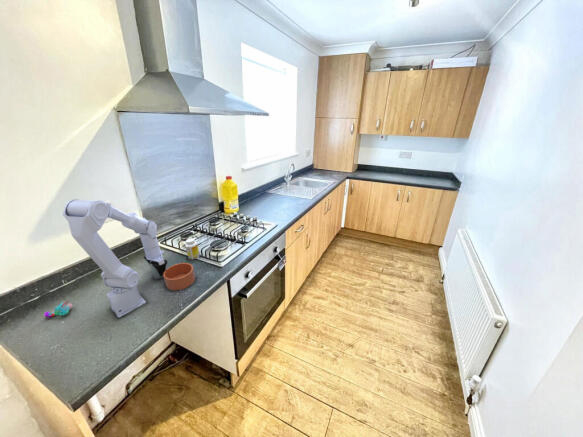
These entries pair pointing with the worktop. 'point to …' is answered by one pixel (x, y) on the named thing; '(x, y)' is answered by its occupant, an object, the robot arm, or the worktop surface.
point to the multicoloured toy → (63, 310)
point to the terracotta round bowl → (179, 276)
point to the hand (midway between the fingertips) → (158, 271)
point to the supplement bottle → (192, 248)
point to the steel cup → (154, 271)
